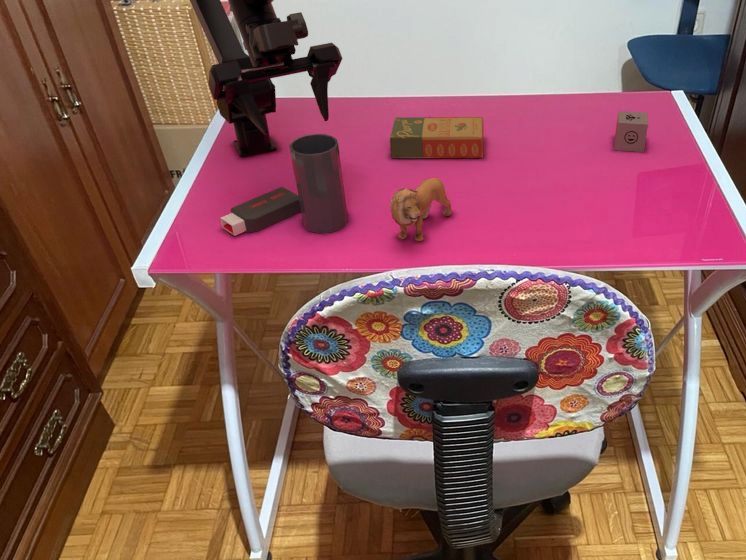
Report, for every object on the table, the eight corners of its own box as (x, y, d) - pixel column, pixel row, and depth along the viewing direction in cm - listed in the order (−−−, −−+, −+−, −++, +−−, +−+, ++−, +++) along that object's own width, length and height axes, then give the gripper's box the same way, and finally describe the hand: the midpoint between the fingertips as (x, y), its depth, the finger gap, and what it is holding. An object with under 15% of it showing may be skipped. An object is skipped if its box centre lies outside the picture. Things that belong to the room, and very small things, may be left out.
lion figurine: (419, 257, 102) (415, 201, 96) (385, 250, 103) (379, 194, 98) (457, 207, 112) (456, 154, 106) (426, 201, 114) (423, 148, 108)
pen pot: (301, 213, 111) (287, 137, 103) (344, 207, 113) (334, 131, 104) (306, 236, 106) (292, 157, 98) (351, 229, 108) (341, 151, 100)
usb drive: (305, 209, 112) (302, 193, 110) (238, 239, 106) (234, 223, 104) (286, 198, 115) (283, 182, 113) (219, 226, 109) (215, 210, 107)
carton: (482, 159, 125) (483, 136, 122) (390, 159, 125) (388, 135, 122) (483, 138, 131) (483, 115, 128) (395, 137, 131) (393, 115, 128)
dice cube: (614, 137, 131) (618, 111, 127) (642, 139, 130) (647, 112, 127) (614, 150, 127) (618, 122, 124) (643, 151, 126) (648, 124, 123)
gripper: (194, 3, 93) (238, 118, 93) (329, -18, 100) (369, 89, 100) (192, 46, 103) (232, 149, 104) (315, 24, 110) (352, 121, 111)
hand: (297, 126), depth 104 cm, fingers open, 9 cm apart
